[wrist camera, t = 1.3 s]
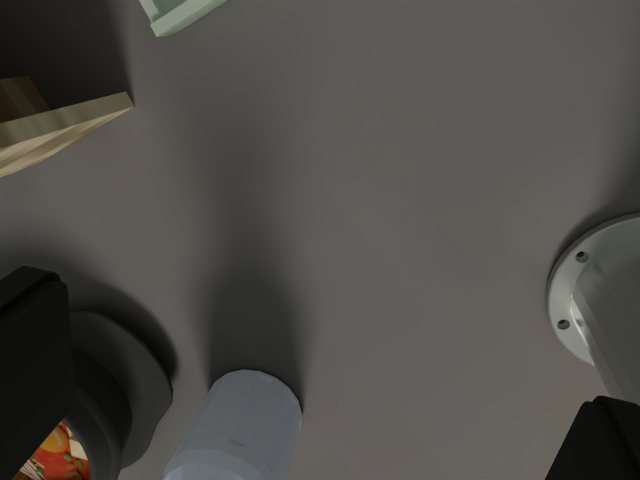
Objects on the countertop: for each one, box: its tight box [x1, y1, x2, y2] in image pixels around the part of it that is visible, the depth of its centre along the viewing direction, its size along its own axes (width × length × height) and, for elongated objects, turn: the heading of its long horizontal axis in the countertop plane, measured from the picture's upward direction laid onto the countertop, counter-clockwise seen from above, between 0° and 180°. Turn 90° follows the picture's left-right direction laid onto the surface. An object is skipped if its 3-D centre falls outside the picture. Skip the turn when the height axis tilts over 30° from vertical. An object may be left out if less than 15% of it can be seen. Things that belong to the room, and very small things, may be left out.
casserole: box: [12, 310, 173, 480], centre depth 48 cm, size 25×19×8 cm
